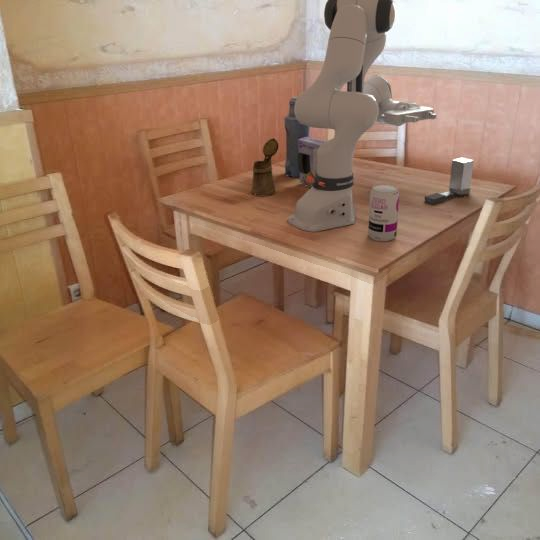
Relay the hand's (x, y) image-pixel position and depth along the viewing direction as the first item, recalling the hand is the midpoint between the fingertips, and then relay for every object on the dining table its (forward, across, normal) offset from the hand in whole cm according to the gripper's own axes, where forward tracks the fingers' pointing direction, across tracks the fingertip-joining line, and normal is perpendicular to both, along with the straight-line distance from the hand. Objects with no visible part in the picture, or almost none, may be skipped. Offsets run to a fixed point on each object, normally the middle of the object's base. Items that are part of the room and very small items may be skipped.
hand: (425, 118), depth 196 cm
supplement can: (+26, -45, +26) cm, 58 cm away
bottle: (-41, -26, +25) cm, 54 cm away
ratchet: (+15, -3, +24) cm, 29 cm away
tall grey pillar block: (+15, +3, +22) cm, 27 cm away
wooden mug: (-32, -47, +25) cm, 62 cm away
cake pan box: (-22, -31, +25) cm, 45 cm away
